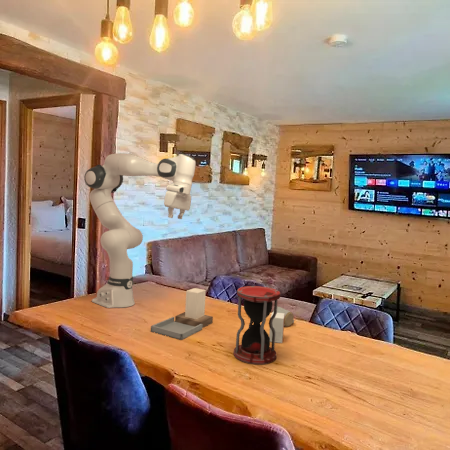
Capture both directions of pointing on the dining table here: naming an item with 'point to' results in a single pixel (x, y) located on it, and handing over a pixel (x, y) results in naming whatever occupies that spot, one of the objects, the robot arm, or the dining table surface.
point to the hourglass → (256, 325)
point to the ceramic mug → (286, 316)
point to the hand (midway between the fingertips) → (175, 218)
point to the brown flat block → (194, 320)
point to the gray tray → (175, 329)
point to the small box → (278, 327)
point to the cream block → (195, 303)
